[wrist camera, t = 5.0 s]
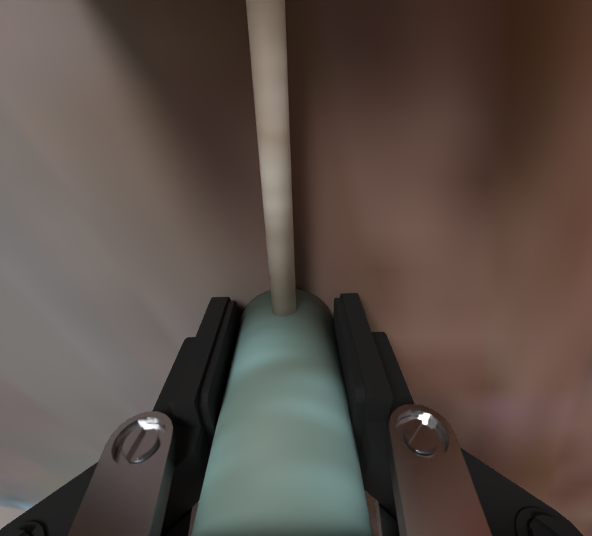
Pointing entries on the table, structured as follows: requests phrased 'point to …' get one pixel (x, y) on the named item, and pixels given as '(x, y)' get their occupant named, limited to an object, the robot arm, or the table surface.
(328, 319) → the tethered block
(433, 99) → the table surface
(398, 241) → the table surface
